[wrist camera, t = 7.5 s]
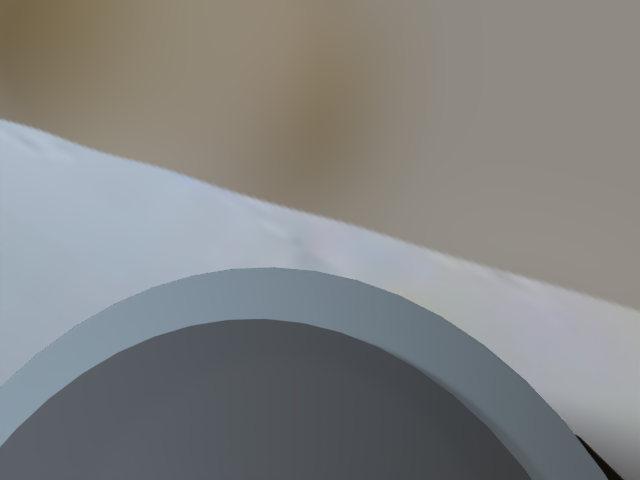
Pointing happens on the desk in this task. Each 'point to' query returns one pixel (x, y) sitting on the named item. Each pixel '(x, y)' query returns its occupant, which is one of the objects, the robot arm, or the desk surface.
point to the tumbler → (277, 391)
